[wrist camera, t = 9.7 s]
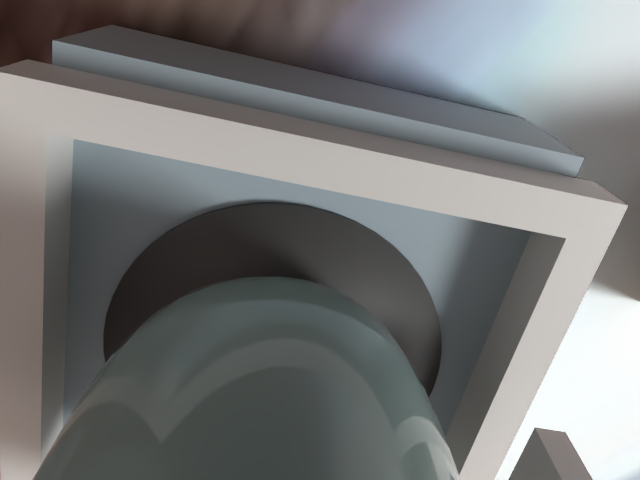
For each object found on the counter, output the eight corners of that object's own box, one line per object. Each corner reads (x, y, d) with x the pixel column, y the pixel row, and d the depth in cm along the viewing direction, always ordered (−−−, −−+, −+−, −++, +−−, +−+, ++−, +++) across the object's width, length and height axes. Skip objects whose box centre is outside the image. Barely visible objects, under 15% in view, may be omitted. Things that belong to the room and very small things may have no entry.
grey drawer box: (92, 20, 15) (-10, 42, 10) (538, 121, 17) (639, 184, 12) (72, 435, 21) (2, 575, 16) (397, 481, 23) (424, 621, 18)
